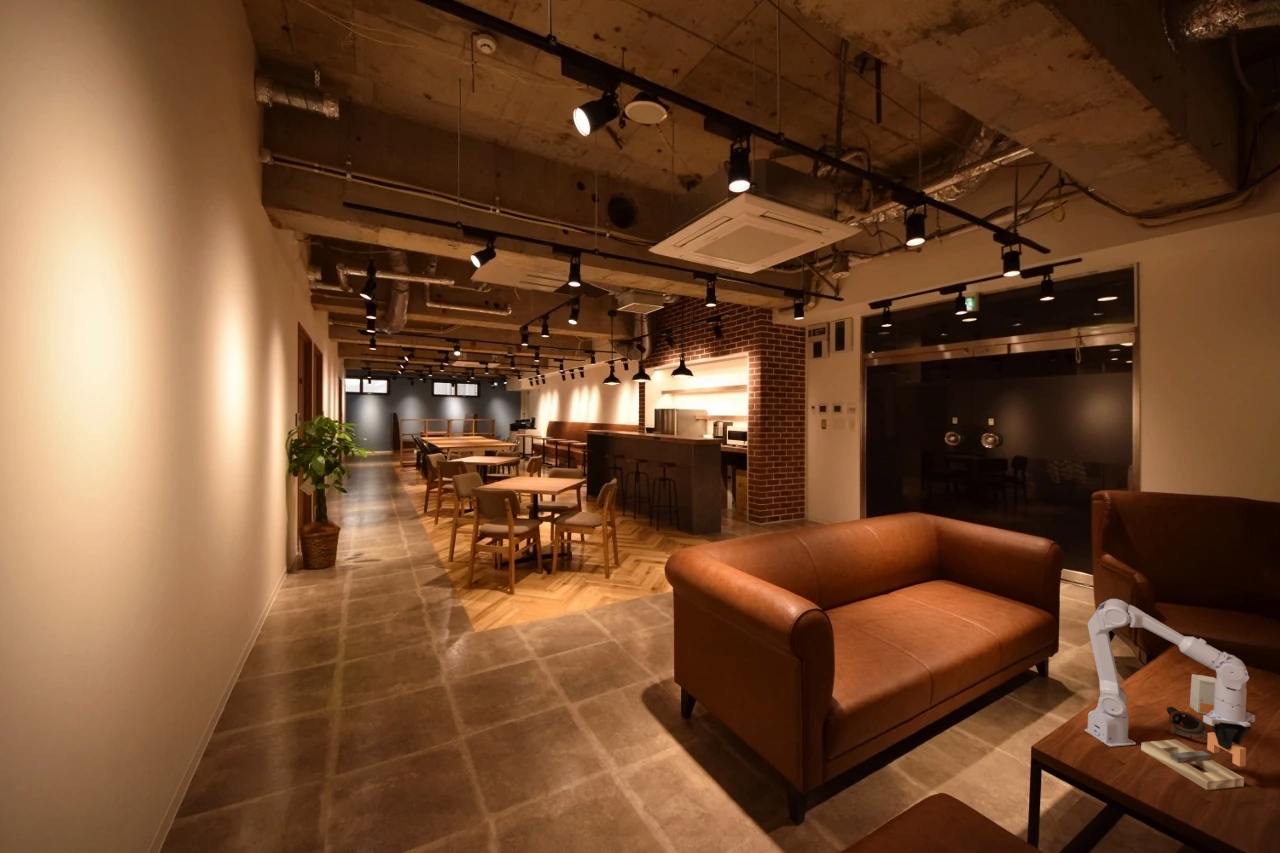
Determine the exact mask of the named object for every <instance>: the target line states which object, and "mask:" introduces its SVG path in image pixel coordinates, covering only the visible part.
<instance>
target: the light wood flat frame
mask: <svg viewBox="0 0 1280 853" xmlns="http://www.w3.org/2000/svg"><path fill="white" fill-rule="evenodd" d="M1140 745H1141V747H1140V750H1141V751H1142V752H1144V753H1145V754H1147V755H1148V756H1150V757H1152V758H1153V759H1155V760H1157V761H1159V762H1160V763H1162V764H1164V765H1166V767H1169V768H1170V769H1172V770H1174V772H1176V773H1178V774H1180V775H1181V776H1183V777H1185V778H1186V779H1189V781H1191V782H1193V783H1195V784H1197V785H1198V786H1200V787H1202V788H1203V789H1204V790H1206V791H1210V790H1212V791H1213V790H1221V789H1230V788H1239V787H1245V785H1244V784H1245V778H1244V776H1241V775H1239V773H1236V772H1234V771H1232V770H1231V769H1229V768H1227V767H1225V766H1223V765H1222V764H1220V763H1218V762H1216V761H1215V760H1214V759H1213V760H1212V759H1211V754H1209V753H1207V752H1205V751H1204V750H1195V749H1193V748H1191V747H1190V746H1188V745H1186V744H1184V743H1183V742H1180V741H1179V740H1177V739H1165V740H1151V741H1143V742H1142V741H1141V744H1140ZM1189 763H1192V764H1194V765H1195V766H1198V767H1199V768H1200V769H1202V770H1204V771H1205V772H1202V771H1200V770H1199V769H1197V768H1196V767H1194V766H1192V765H1191V764H1189Z"/></svg>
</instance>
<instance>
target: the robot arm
mask: <svg viewBox="0 0 1280 853" xmlns="http://www.w3.org/2000/svg"><path fill="white" fill-rule="evenodd" d="M1129 624H1130V625H1129ZM1127 625H1129V627H1130V628H1143V629H1145V630H1147V631H1149V632H1152V633H1153V634H1155V635H1157V636H1159V637H1160V638H1162V639H1164V640H1167V641H1169V642H1171V643H1172V644H1174V645H1176V646H1177V647H1178V648H1179V651H1180V652H1181V653H1182V654H1184V655H1186V656H1188V657H1190V658H1191V659H1193V660H1194V661H1197V662H1198V663H1200V664H1201V665H1203V666H1204V667H1206V668H1208V669H1211V670H1214V671H1215V673H1216V677H1215V678H1216V680H1215V693H1214V709H1213V710H1212V711H1211V712H1209V713H1208V714H1203V715H1202V722H1203V723H1204V724H1206V725H1209V726H1211V729H1212V730H1213V732H1214V733H1215V735H1216V738H1217V741H1218V744H1219V745H1220V746H1222V747H1224V748H1225V749H1228V750H1229V749H1230V748H1231V745H1232V742H1234V743H1236V744H1238V745H1241V742H1242V740H1243V739H1244V737H1245V735H1247V734H1248V733H1249V732H1251V731H1252V728H1251V723H1255V722H1256V715H1255V714H1253V713H1251V712H1248V711H1246V710H1247V709H1246V708H1247V690H1248V689H1247V687H1246V686H1247V682H1248V681H1249V680H1250V676H1249V673H1248V670H1247V667H1246V665H1245V663H1244V662H1243V661H1242V660H1241V659H1239V658H1238V657H1236V656H1235V655H1233V654H1229V653H1228V652H1226V651H1220V650H1218V649H1217V648H1215V647H1213V646H1212V645H1210V644H1208V643H1207V641H1206V640H1205V639H1203V638H1197V637H1195V636H1184V635H1183V634H1181V633H1180V632H1178V631H1176V630H1174V629H1173V628H1171V627H1169V626H1167V625H1166V624H1164V622H1163V623H1162V622H1160V621H1159V620H1157V619H1156V618H1154V617H1152V616H1151V615H1149V614H1147V613H1145V612H1143V611H1142V610H1141V609H1139V608H1138V607H1136V606H1134V605H1131V604H1128V603H1127V602H1126V601H1124V600H1121V599H1118V598H1110V599H1107V600H1105V601H1104V602H1102V603H1100V604H1099V606H1098V607H1097V609H1096V610H1095V611H1094V613H1093V615H1092V616H1091V617H1090V618H1089V620H1088V622H1087V628H1088V634H1089V638H1090V642H1091V643H1090V644H1091V647H1092V652H1093V657H1094V661H1095V662H1094V663H1095V665H1096V671H1097V675H1098V680H1099V692H1100V693H1099V697H1098V701H1097V705H1096V708H1094V709H1093V710H1090V711H1089V712H1088V714H1087V728H1085V729H1084V731H1085V733H1088V734H1089V735H1091V736H1092V737H1094V738H1096V740H1099V741H1100V742H1102V743H1104V744H1105V745H1107V746H1108V747H1111V748H1112V747H1121V746H1123V747H1124V746H1133V745H1136V744H1137V743H1136V742H1135V741H1134V740H1132V739H1130V738H1129V715H1130V714H1129V712H1128V711H1127V703H1128V699H1129V696H1128V695H1127V692H1126V691H1125V690H1124V688H1123V687H1122V683H1121V681H1120V679H1119V676H1118V675H1119V674H1118V670H1117V666H1116V662H1115V657H1114V653H1113V647H1112V644H1111V643H1112V642H1111V638H1110V631H1112V630H1113V629H1116V628H1123V627H1125V626H1127Z"/></svg>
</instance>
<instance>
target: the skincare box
mask: <svg viewBox="0 0 1280 853" xmlns="http://www.w3.org/2000/svg"><path fill="white" fill-rule="evenodd" d="M1216 678H1217V677H1213V676H1207V675H1200V674H1193V673H1192V674H1191V680H1190V695H1189V696H1190V697H1189V698H1190V699H1189V707H1191V709H1192V710H1194V711H1195V712H1196V713H1198V714H1203V715H1207V714H1208V713H1209V712H1211V711H1212V710H1213V709H1214V693H1215V680H1216Z"/></svg>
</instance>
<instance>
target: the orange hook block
mask: <svg viewBox="0 0 1280 853" xmlns="http://www.w3.org/2000/svg"><path fill="white" fill-rule="evenodd" d="M1207 733H1208V738H1207V746H1206V749H1207V750H1208V751H1210V752H1211V753H1213V754H1215V753H1220V751H1221V750H1220V749H1222V750H1224V751H1226V752H1228V753H1230V754H1231V755H1232V762H1231V763H1232V764H1234V765H1235V766H1238V767H1239V768H1241V767H1246V764H1247V763H1246V761H1247V760H1246V757H1247V756H1246V755H1247V748H1246V747H1244V746H1242V745H1241V744H1239V745H1238V744H1236V743H1234V742H1232V745H1231V748H1230V749H1229V750H1228V749H1225V748H1224V747H1222V746H1220V745H1219V744H1218V741H1217V738H1216V735H1215V732H1214V731H1212V732H1207Z"/></svg>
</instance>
